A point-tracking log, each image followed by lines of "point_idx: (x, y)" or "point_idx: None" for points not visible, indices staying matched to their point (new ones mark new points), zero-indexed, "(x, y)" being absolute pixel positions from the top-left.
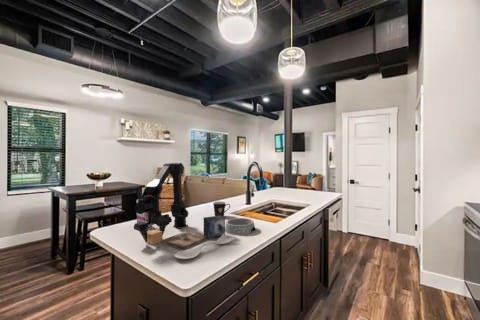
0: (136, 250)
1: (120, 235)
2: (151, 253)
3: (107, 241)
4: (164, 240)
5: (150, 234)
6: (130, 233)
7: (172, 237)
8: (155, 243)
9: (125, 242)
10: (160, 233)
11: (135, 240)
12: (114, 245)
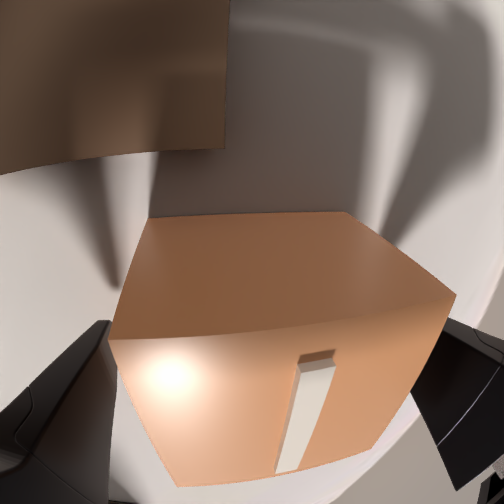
0: (484, 215)
1: (292, 491)
2: (473, 26)
3: (381, 453)
4: (203, 73)
5: (431, 344)
6: (241, 496)
7: (2, 113)
8: (293, 212)
9: None
10: (188, 305)
11: None
12: None
